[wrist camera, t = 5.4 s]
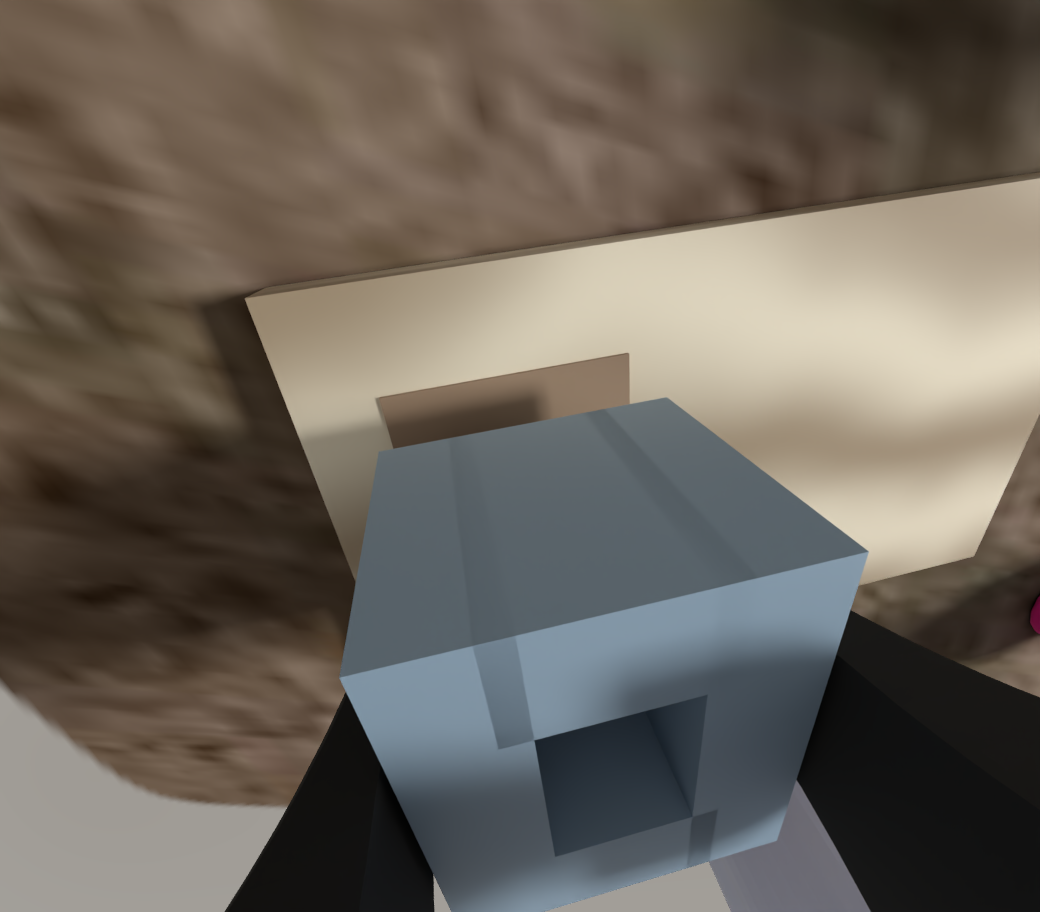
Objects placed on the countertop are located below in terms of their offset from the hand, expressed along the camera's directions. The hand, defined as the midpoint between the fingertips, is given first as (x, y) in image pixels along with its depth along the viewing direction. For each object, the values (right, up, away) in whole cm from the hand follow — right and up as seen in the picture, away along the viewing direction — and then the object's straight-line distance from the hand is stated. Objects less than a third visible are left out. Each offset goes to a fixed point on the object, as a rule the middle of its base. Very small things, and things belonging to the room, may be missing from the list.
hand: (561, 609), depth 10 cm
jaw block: (0, +1, +1) cm, 2 cm away
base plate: (+5, +4, +5) cm, 8 cm away
